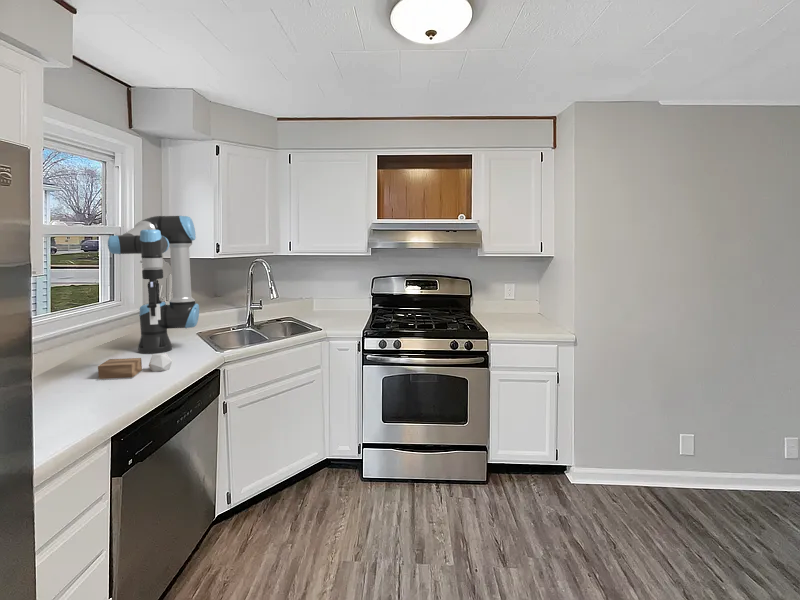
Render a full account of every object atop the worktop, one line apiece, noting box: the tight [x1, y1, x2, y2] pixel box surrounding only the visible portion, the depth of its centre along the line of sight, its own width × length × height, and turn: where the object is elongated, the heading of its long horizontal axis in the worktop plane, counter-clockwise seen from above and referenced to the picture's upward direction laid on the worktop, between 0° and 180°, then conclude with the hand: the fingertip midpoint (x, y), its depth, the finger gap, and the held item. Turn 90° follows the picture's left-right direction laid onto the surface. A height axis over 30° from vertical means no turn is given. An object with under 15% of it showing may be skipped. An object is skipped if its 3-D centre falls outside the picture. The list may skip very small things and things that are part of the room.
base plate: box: [95, 368, 145, 382], centre depth 215 cm, size 16×13×1 cm
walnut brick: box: [97, 357, 143, 379], centre depth 215 cm, size 12×12×5 cm
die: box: [148, 352, 173, 373], centre depth 222 cm, size 8×9×10 cm
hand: (155, 322), depth 218 cm, fingers open, 13 cm apart
